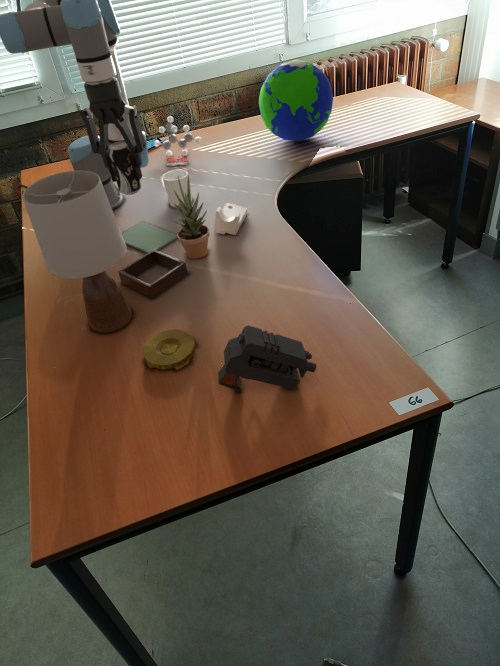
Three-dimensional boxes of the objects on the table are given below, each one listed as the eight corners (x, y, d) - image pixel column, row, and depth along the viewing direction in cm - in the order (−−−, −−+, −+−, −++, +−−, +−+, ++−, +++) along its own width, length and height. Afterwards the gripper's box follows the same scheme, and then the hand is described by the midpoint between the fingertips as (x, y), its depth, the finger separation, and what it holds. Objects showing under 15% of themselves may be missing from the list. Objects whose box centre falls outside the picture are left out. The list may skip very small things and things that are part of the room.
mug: (197, 198, 179) (192, 170, 173) (185, 209, 174) (179, 181, 167) (172, 195, 184) (165, 167, 177) (158, 206, 178) (152, 178, 171)
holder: (121, 283, 143) (117, 271, 141) (156, 260, 151) (153, 249, 148) (152, 298, 136) (149, 286, 134) (188, 274, 143) (185, 262, 141)
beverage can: (130, 198, 125) (117, 151, 117) (115, 193, 128) (101, 147, 120) (146, 188, 129) (135, 142, 121) (131, 184, 131) (119, 138, 123)
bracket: (235, 237, 158) (238, 217, 152) (213, 231, 158) (216, 210, 153) (246, 217, 167) (249, 197, 162) (225, 211, 168) (228, 191, 162)
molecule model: (154, 173, 207) (143, 140, 194) (159, 149, 216) (149, 116, 203) (201, 170, 205) (193, 136, 192) (205, 146, 213) (198, 112, 200)
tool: (211, 370, 109) (238, 319, 100) (290, 389, 115) (321, 343, 107) (212, 390, 104) (240, 339, 96) (294, 410, 111) (327, 363, 102)
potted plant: (199, 241, 157) (184, 164, 140) (219, 251, 151) (206, 172, 135) (174, 255, 152) (155, 178, 136) (193, 266, 146) (177, 186, 130)
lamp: (86, 299, 139) (35, 172, 115) (152, 295, 137) (114, 164, 113) (66, 345, 125) (2, 211, 101) (138, 341, 123) (92, 203, 99)
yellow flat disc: (187, 373, 113) (186, 366, 112) (138, 370, 116) (135, 363, 114) (200, 337, 122) (199, 330, 121) (154, 335, 124) (152, 328, 123)
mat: (114, 239, 163) (114, 237, 163) (142, 223, 170) (142, 221, 169) (150, 254, 154) (150, 253, 153) (178, 237, 160) (178, 235, 160)
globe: (304, 121, 227) (302, 47, 207) (348, 138, 206) (349, 57, 187) (248, 140, 217) (240, 64, 197) (288, 160, 196) (283, 77, 177)
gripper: (54, 87, 110) (87, 186, 125) (133, 82, 106) (157, 185, 122) (69, 77, 115) (99, 173, 131) (145, 72, 112) (166, 171, 127)
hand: (127, 178), depth 126 cm, fingers closed on beverage can, 6 cm apart
